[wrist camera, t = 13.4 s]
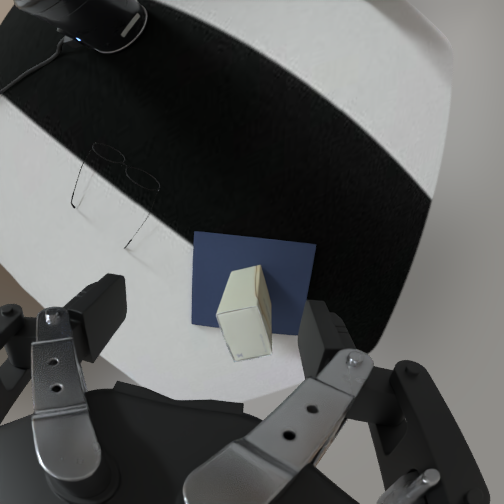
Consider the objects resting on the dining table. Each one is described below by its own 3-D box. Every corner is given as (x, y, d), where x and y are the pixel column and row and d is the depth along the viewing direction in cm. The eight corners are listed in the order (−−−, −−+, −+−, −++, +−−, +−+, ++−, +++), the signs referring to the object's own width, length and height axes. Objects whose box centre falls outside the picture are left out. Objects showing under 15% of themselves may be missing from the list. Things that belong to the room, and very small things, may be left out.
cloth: (192, 322, 42) (191, 324, 41) (194, 231, 38) (194, 231, 37) (298, 334, 42) (299, 335, 41) (315, 244, 38) (316, 245, 37)
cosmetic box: (271, 303, 40) (275, 356, 28) (241, 310, 40) (233, 364, 29) (260, 262, 38) (259, 305, 27) (228, 270, 39) (214, 314, 27)
